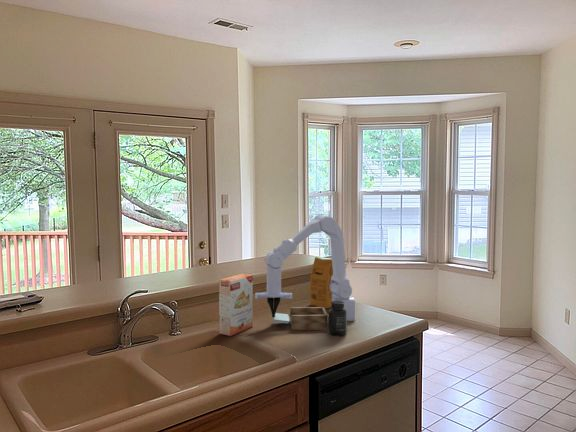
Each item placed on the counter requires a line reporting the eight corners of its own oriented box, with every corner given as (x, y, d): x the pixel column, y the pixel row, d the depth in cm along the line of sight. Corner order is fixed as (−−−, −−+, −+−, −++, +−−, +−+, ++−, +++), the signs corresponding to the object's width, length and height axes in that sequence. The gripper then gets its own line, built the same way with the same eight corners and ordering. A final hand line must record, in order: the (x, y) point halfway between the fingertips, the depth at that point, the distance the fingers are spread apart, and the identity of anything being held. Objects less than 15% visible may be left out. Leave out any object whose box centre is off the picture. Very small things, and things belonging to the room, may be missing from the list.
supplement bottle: (348, 332, 182) (349, 301, 181) (343, 337, 176) (343, 305, 175) (331, 329, 185) (331, 299, 184) (325, 335, 178) (325, 303, 177)
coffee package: (320, 301, 228) (320, 255, 226) (340, 305, 219) (340, 258, 217) (305, 305, 221) (305, 257, 219) (326, 310, 212) (326, 260, 210)
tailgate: (289, 314, 195) (273, 312, 195) (290, 321, 186) (273, 319, 186) (289, 316, 195) (273, 315, 195) (290, 323, 186) (273, 321, 186)
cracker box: (231, 337, 176) (230, 281, 175) (218, 334, 180) (217, 279, 178) (253, 327, 188) (253, 274, 187) (241, 324, 192) (241, 272, 190)
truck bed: (324, 320, 197) (324, 307, 197) (327, 329, 185) (327, 315, 185) (290, 320, 197) (290, 307, 196) (291, 329, 185) (291, 315, 184)
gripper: (255, 284, 185) (254, 319, 186) (292, 284, 185) (292, 319, 186) (255, 280, 192) (255, 314, 193) (291, 280, 192) (291, 314, 193)
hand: (273, 316), depth 190 cm, fingers closed, pressing on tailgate
